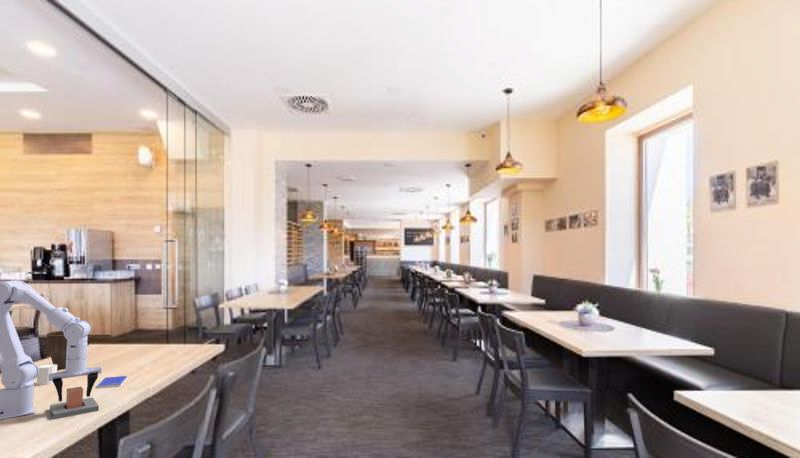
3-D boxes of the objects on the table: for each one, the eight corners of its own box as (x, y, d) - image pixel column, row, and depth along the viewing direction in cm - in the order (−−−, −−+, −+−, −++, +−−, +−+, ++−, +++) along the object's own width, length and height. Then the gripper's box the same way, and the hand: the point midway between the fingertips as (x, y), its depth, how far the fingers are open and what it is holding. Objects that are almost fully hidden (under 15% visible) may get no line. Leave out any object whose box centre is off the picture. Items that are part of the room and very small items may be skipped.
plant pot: (89, 362, 215) (91, 329, 216) (78, 370, 201) (80, 334, 202) (53, 364, 211) (54, 330, 211) (38, 372, 196) (40, 336, 197)
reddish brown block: (67, 412, 148) (68, 391, 148) (65, 409, 151) (66, 388, 151) (82, 410, 151) (83, 389, 151) (80, 407, 153) (81, 386, 154)
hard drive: (120, 383, 178) (127, 375, 189) (96, 385, 175) (104, 377, 186) (120, 387, 177) (127, 379, 189) (96, 389, 175) (104, 381, 186)
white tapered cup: (55, 379, 186) (56, 362, 186) (58, 383, 181) (58, 365, 181) (34, 383, 181) (35, 365, 181) (36, 386, 176) (37, 368, 176)
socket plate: (53, 419, 142) (53, 414, 142) (49, 409, 151) (50, 404, 151) (98, 410, 150) (98, 405, 150) (92, 401, 159) (92, 397, 159)
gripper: (50, 363, 144) (48, 406, 143) (104, 356, 153) (102, 396, 153) (48, 359, 149) (46, 400, 148) (100, 353, 159) (98, 391, 158)
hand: (74, 398), depth 151 cm, fingers open, 7 cm apart
